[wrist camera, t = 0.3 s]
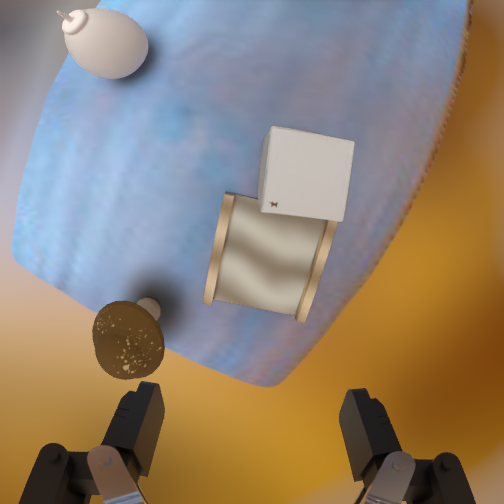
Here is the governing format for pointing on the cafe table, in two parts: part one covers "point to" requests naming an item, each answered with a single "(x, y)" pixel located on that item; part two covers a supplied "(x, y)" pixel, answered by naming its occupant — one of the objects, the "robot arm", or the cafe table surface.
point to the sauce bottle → (105, 41)
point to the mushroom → (129, 338)
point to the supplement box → (304, 174)
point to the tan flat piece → (267, 258)
